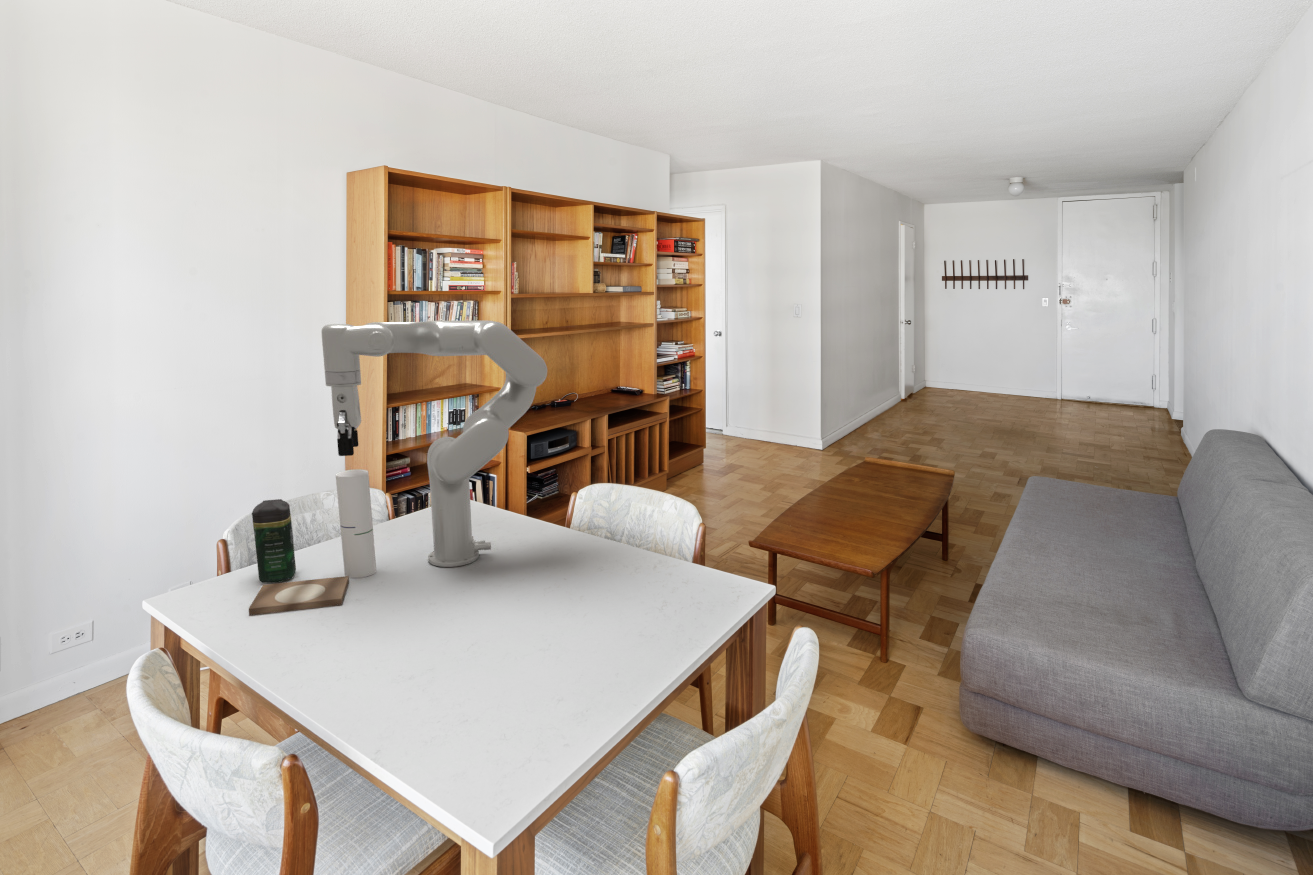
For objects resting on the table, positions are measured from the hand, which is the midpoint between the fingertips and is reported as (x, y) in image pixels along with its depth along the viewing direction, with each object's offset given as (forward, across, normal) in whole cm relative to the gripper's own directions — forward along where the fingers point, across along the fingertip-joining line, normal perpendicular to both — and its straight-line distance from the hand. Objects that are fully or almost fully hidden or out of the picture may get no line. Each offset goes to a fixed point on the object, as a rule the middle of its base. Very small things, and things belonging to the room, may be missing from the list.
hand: (348, 451), depth 164 cm
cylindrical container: (+31, 0, 0) cm, 31 cm away
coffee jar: (+31, +3, +18) cm, 36 cm away
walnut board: (+31, -12, +10) cm, 34 cm away
